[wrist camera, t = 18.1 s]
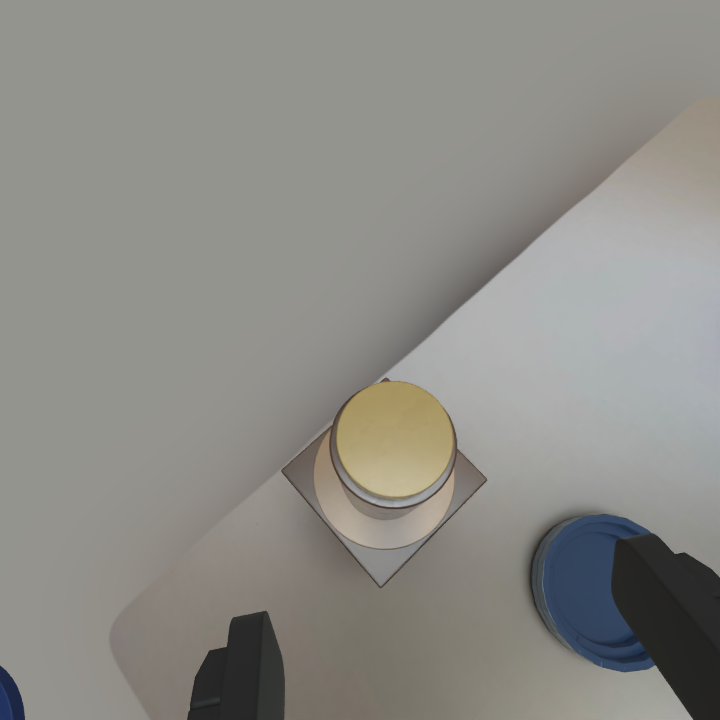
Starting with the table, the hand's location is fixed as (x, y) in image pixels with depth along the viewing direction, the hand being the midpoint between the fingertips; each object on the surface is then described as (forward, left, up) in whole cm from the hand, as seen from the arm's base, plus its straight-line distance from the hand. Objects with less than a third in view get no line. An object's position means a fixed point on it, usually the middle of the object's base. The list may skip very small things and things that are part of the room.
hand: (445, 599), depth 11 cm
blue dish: (+15, -9, -34) cm, 38 cm away
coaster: (+1, +5, -15) cm, 16 cm away
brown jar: (+1, +4, -14) cm, 15 cm away
